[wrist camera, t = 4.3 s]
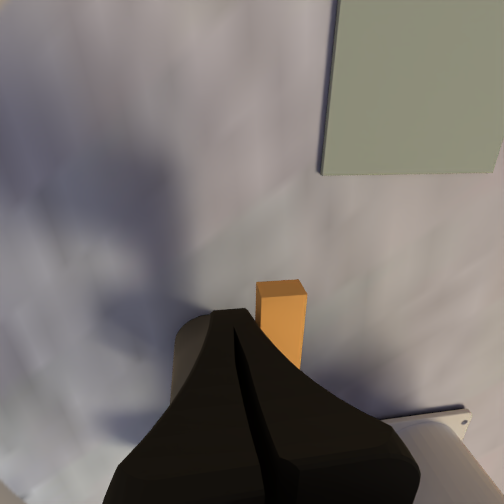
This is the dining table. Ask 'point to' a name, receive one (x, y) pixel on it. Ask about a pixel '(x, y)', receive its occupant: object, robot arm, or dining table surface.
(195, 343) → the plug
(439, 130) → the mat
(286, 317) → the bar
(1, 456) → the dining table surface
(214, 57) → the dining table surface
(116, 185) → the dining table surface
